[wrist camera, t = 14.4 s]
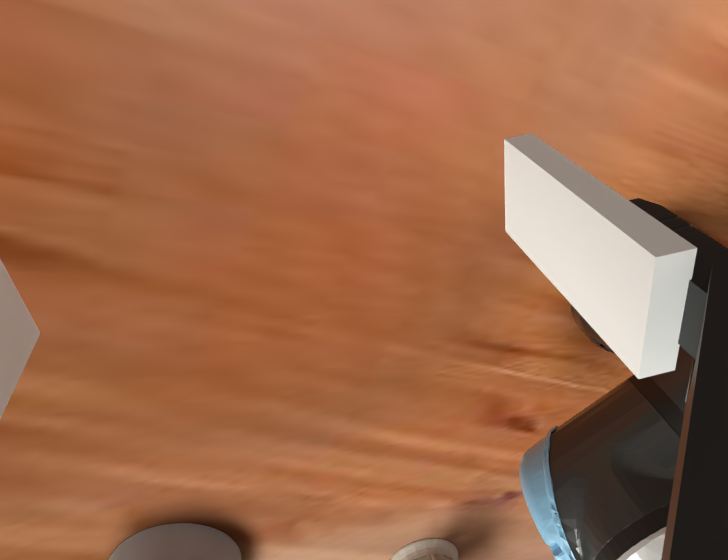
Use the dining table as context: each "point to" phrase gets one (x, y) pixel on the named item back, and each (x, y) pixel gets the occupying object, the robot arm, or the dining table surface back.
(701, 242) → the robot arm
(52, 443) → the dining table surface
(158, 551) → the tape roll
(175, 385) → the dining table surface
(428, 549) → the mug
